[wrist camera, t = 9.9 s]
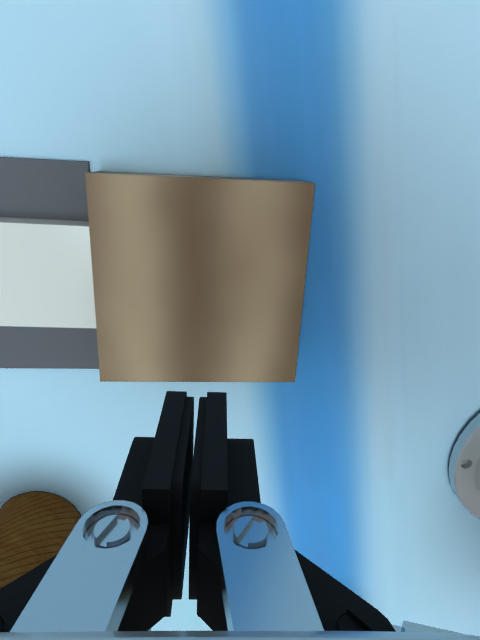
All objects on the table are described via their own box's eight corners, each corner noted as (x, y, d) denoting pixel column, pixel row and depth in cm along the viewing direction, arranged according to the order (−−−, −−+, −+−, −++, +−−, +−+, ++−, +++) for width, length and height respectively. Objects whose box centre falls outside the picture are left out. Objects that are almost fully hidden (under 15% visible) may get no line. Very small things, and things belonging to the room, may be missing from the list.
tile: (99, 221, 25) (91, 226, 24) (104, 317, 27) (97, 328, 26) (-44, 215, 25) (-64, 219, 23) (-28, 313, 27) (-45, 325, 25)
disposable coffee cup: (-22, 566, 34) (-132, 765, 23) (-29, 468, 31) (-160, 643, 20) (101, 571, 35) (54, 762, 24) (107, 477, 32) (55, 647, 21)
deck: (303, 180, 26) (315, 183, 23) (286, 361, 30) (294, 381, 27) (98, 171, 25) (85, 172, 22) (110, 360, 29) (100, 381, 26)
